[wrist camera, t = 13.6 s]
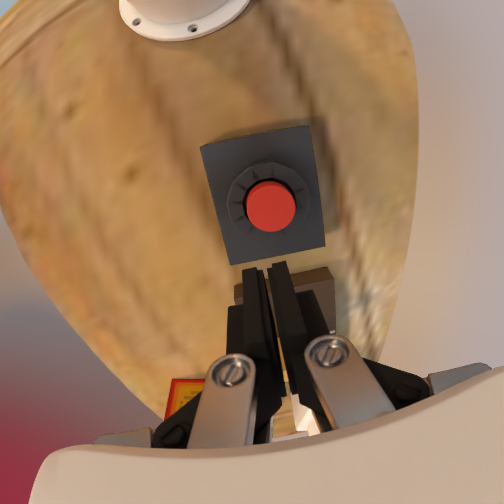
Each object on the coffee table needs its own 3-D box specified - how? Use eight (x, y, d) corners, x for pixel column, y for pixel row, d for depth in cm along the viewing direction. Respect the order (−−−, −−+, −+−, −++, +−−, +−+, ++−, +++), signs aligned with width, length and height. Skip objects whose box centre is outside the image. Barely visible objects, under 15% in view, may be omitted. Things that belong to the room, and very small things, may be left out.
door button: (242, 185, 21) (242, 190, 20) (287, 176, 21) (291, 181, 19) (251, 228, 23) (252, 236, 21) (294, 219, 23) (298, 227, 21)
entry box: (203, 145, 23) (196, 148, 19) (303, 125, 23) (314, 125, 19) (230, 255, 28) (229, 275, 24) (319, 237, 27) (331, 254, 24)
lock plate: (234, 285, 29) (233, 300, 27) (327, 266, 29) (334, 279, 26) (258, 369, 35) (260, 384, 33) (331, 354, 35) (336, 369, 32)
